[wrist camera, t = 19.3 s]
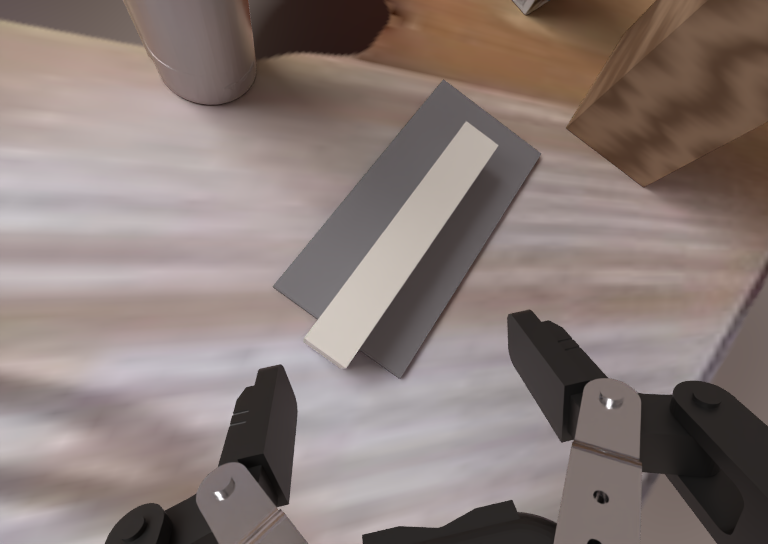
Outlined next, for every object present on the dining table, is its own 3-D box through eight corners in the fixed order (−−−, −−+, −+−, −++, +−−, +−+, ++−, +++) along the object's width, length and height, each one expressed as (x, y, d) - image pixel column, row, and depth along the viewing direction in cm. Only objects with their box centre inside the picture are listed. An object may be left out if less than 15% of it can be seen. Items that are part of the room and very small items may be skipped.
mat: (273, 287, 35) (273, 286, 35) (441, 83, 45) (443, 79, 44) (398, 378, 36) (400, 378, 35) (538, 156, 45) (541, 153, 45)
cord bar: (303, 341, 34) (304, 338, 30) (451, 143, 42) (466, 121, 39) (340, 368, 34) (346, 368, 30) (480, 165, 43) (498, 145, 39)
